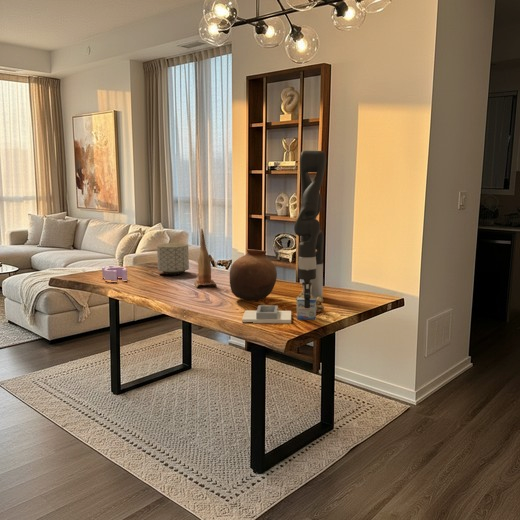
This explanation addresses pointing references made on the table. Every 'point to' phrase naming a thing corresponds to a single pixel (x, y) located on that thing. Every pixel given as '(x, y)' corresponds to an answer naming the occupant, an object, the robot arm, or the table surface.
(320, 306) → the mineral formation
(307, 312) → the medicine box
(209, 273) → the brown spire tower
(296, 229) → the robot arm
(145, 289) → the table surface
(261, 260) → the pottery
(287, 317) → the holder
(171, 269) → the planter
